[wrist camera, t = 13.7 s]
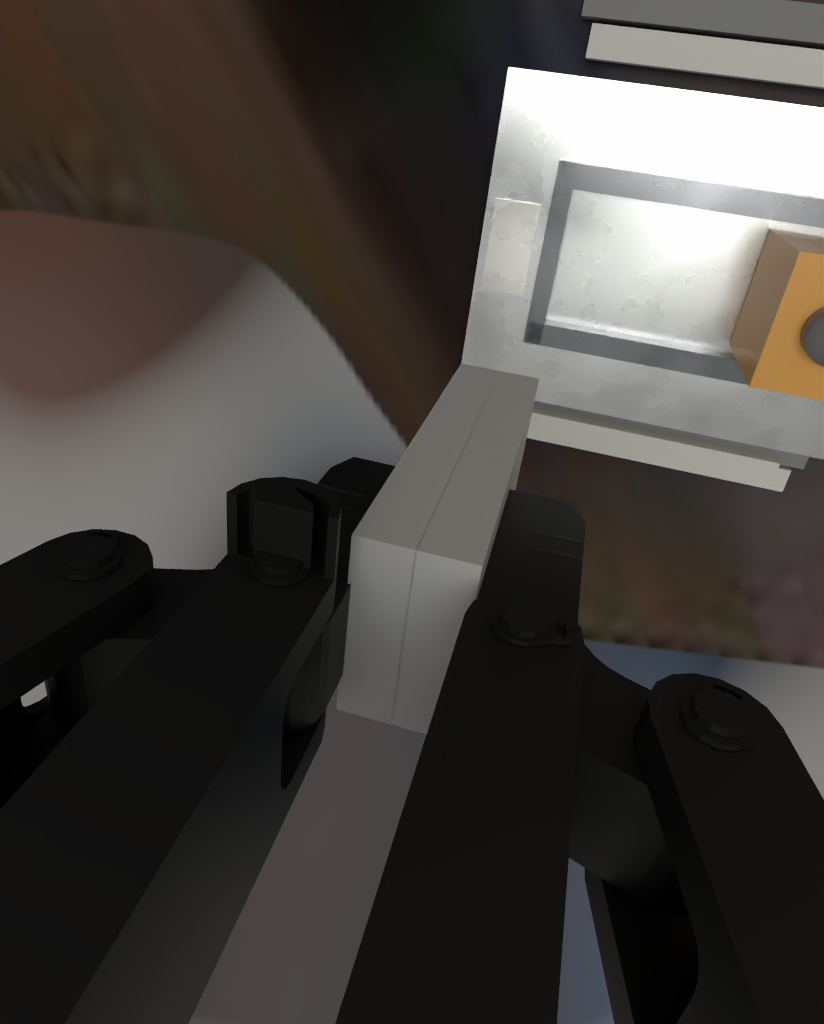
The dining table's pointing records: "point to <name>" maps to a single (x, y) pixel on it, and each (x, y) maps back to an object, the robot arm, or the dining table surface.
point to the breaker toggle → (784, 318)
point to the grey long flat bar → (712, 38)
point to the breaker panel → (642, 250)
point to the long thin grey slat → (663, 446)
